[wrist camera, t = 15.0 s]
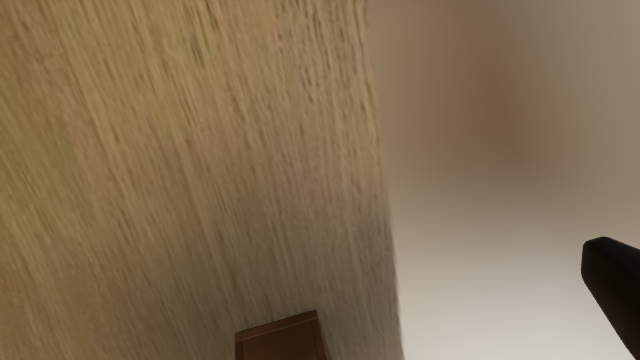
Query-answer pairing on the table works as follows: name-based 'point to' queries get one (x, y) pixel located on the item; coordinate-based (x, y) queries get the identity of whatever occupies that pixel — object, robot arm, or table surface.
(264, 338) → the holder
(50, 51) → the table surface
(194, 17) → the table surface
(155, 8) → the table surface
